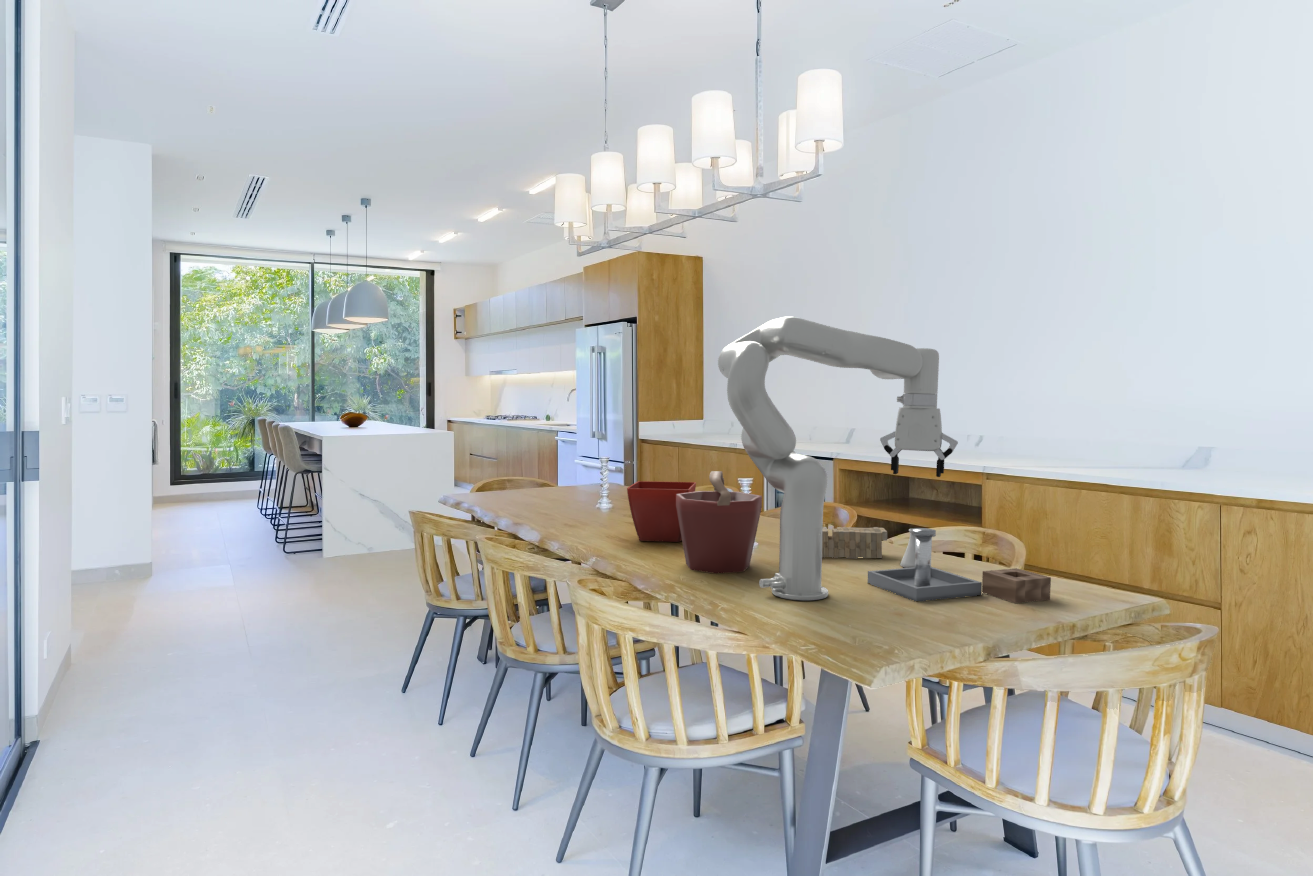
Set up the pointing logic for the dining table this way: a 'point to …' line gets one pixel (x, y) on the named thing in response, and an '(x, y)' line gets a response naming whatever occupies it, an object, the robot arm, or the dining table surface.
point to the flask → (909, 553)
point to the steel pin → (923, 556)
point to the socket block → (1016, 585)
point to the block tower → (853, 542)
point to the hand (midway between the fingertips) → (916, 475)
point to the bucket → (718, 527)
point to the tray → (939, 587)
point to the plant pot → (657, 509)
